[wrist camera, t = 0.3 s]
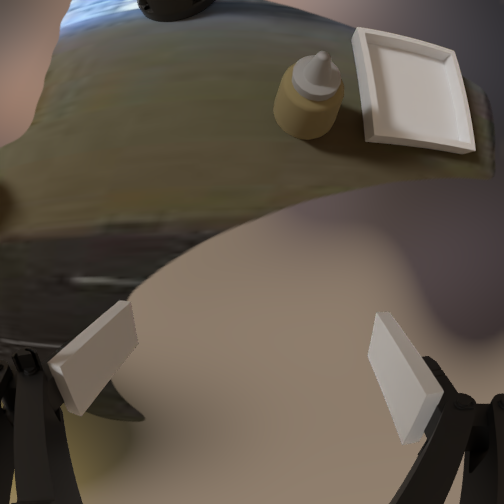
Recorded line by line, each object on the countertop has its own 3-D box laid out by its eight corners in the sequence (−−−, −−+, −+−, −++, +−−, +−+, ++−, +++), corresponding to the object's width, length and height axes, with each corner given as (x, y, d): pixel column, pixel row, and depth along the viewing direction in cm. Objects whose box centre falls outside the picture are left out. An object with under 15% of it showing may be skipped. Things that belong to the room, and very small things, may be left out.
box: (351, 39, 34) (357, 26, 30) (443, 59, 33) (454, 51, 29) (365, 141, 37) (374, 135, 33) (461, 154, 36) (475, 150, 32)
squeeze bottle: (312, 86, 36) (337, 13, 18) (340, 133, 37) (387, 82, 19) (262, 106, 37) (257, 37, 19) (289, 155, 38) (305, 112, 20)
